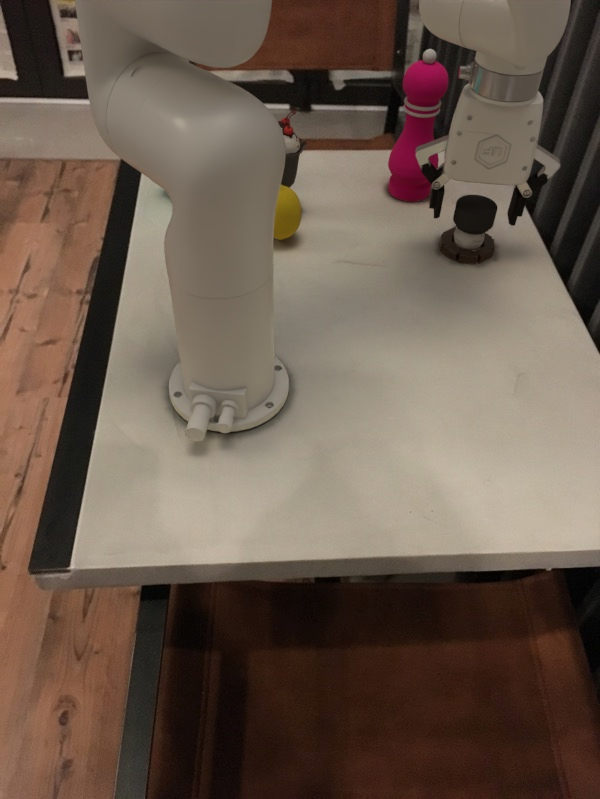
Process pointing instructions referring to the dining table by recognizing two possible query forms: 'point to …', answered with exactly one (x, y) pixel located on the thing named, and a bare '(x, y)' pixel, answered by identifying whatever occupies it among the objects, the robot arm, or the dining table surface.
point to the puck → (474, 214)
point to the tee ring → (466, 255)
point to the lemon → (286, 213)
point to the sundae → (290, 151)
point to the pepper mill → (417, 127)
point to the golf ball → (468, 240)
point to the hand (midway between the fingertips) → (473, 216)
